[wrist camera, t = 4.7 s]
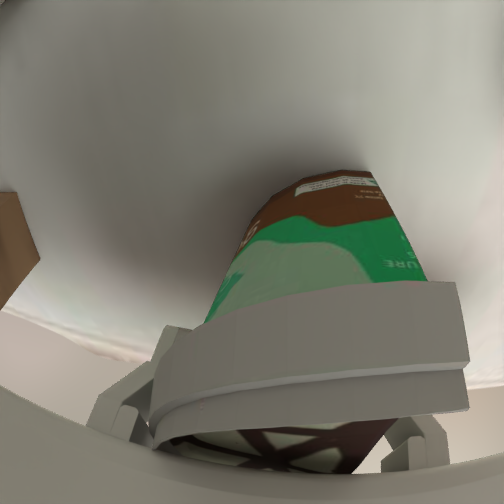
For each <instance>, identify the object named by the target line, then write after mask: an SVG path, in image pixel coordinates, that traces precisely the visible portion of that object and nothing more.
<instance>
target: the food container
mask: <svg viewBox="0 0 504 504" xmlns="http://www.w3.org/2000/svg"><path fill="white" fill-rule="evenodd" d="M469 362H470V357H469V350H468V344H467V337H466V332H465V326H464V321H463V315H462V310H461V306H460V301H459V296H458V292H457V288H456V283H455V282H431V281H427V279H426V276H425V274H424V272H423V270H422V268H421V266H420V263H419V261H418V259H417V257H416V255H415V253H414V251H413V249H412V247H411V245H410V243H409V241H408V239H407V237H406V235H405V233H404V231H403V229H402V227H401V225H400V223H399V222H398V220H397V218H396V216H395V214H394V212H393V210H392V209H391V207H390V205H389V203H388V201H387V200H386V198H385V196H384V194H383V193H382V191H381V189H380V187H379V186H378V184H377V182H376V181H375V179H374V177H373V176H372V174H371V172H362V171H347V170H340V171H335V172H330V173H326V174H321V175H316V176H311V177H307V178H303V179H301V180H300V181H298V182H296V183H294V184H293V185H291V186H289V187H287V188H285V189H284V190H282V191H280V192H278V193H277V194H275V195H273V196H272V197H271V198H270V199H269V201H268V202H267V203H266V204H265V205H264V206H263V207H262V209H261V210H260V211H259V212H258V213H257V214H256V216H255V217H254V218H253V219H252V221H251V223H250V225H249V227H248V229H247V231H246V233H245V236H244V238H243V240H242V242H241V244H240V246H239V248H238V250H237V253H236V255H235V257H234V259H233V261H232V263H231V265H230V268H229V270H228V272H227V274H226V276H225V278H224V281H223V283H222V285H221V287H220V289H219V291H218V293H217V296H216V298H215V300H214V302H213V304H212V307H211V309H210V311H209V313H208V315H207V317H206V320H205V322H204V324H202V325H200V326H198V327H197V328H195V329H194V330H192V331H191V332H189V333H188V334H186V335H185V336H183V337H182V338H180V339H179V340H177V341H176V342H175V343H174V344H173V345H172V346H171V347H170V348H169V349H168V350H167V352H166V353H165V354H164V355H163V356H162V357H161V359H160V361H159V364H158V366H157V369H156V371H155V374H154V381H153V388H152V396H151V404H150V412H149V421H148V422H149V432H150V434H151V436H152V438H153V440H154V441H153V446H152V450H156V449H157V450H160V451H164V452H168V453H172V454H176V455H180V456H184V457H189V458H193V459H198V460H203V461H208V462H213V463H219V464H225V465H231V466H237V467H244V468H252V469H260V470H269V471H280V472H292V473H310V474H352V472H353V471H354V470H355V469H356V468H357V467H358V466H359V465H360V464H361V463H362V461H363V460H364V459H365V457H366V456H367V455H368V454H369V452H370V451H371V450H372V448H373V447H374V446H375V445H376V443H377V442H378V441H379V440H380V438H381V437H382V436H383V435H384V434H385V432H386V431H387V430H388V429H389V428H390V427H391V426H392V425H393V424H394V423H395V422H396V421H397V420H398V419H399V418H400V417H409V416H417V415H432V414H443V413H453V412H462V411H467V410H468V409H469V408H470V407H469V401H468V395H467V389H466V384H465V378H464V373H463V368H464V367H466V366H467V364H468V363H469Z"/></svg>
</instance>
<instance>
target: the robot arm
mask: <svg viewBox="0 0 504 504" xmlns="http://www.w3.org/2000/svg"><path fill="white" fill-rule="evenodd" d="M191 331H192V330H191V329H185V328H181V327H175V326H169V325H167V326H166V327H165V328H164V330H163V332H162V334H161V337H160V339H159V342H158V344H157V347H156V349H155V351H154V354H153V356H152V359H151V361H150V362H149V361H146V362H145V363H143V364H142V365H140V366H139V367H138V368H136V369H135V370H134V371H132V372H131V373H129V374H128V375H127V376H125V377H124V378H122V379H121V380H120V381H118V382H117V383H115V384H114V385H112V386H111V387H110V388H108V389H107V390H105V391H104V392H103V393H101V394H100V395H99V396H98V398H97V400H96V403H95V405H94V408H93V410H92V412H91V414H90V417H89V419H88V422H87V424H86V426H84V425H82V424H79V423H77V422H74V421H72V420H70V419H67V418H65V417H63V416H61V415H58V414H56V413H53V412H52V411H49V410H47V409H45V408H43V407H41V406H39V405H37V404H35V403H33V402H31V401H29V400H27V399H25V398H23V397H21V396H19V395H18V394H16V393H14V392H12V391H10V390H8V389H7V388H5V387H3V386H1V385H0V504H504V452H503V453H499V454H496V455H491V456H488V457H484V458H479V459H475V460H470V461H466V462H461V463H456V464H450V459H449V450H448V441H447V435H446V432H445V430H444V429H443V428H442V427H441V425H440V424H439V423H438V422H437V420H436V419H435V418H434V417H433V416H432V415H417V416H409V417H400V418H399V419H398V420H397V421H396V422H395V423H394V424H393V425H392V426H391V427H390V428H389V429H388V430H387V431H386V432H385V434H384V436H385V438H386V439H387V441H388V442H389V444H390V445H391V447H392V449H393V451H392V452H391V453H390V454H389V455H387V456H386V457H385V458H384V459H383V460H382V461H381V473H368V474H310V473H292V472H280V471H269V470H260V469H252V468H244V467H237V466H231V465H225V464H219V463H213V462H208V461H203V460H198V459H193V458H189V457H184V456H180V455H176V454H172V453H168V452H164V451H160V450H157V449H156V450H152V445H153V441H154V440H153V438H152V436H151V434H150V432H149V427H148V425H147V424H146V422H148V421H149V412H150V404H151V396H152V388H153V381H154V374H155V371H156V369H157V366H158V364H159V361H160V359H161V357H162V356H163V355H164V354H165V353H166V352H167V350H168V349H169V348H170V347H171V346H172V345H173V344H174V343H175V342H176V341H177V340H179V339H180V338H182V337H183V336H185V335H186V334H188V333H189V332H191Z"/></svg>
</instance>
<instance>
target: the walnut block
mask: <svg viewBox="0 0 504 504" xmlns="http://www.w3.org/2000/svg"><path fill="white" fill-rule="evenodd" d="M39 260H40V257H39V254H38V252H37V249H36V247H35V244H34V242H33V239H32V236H31V234H30V231H29V228H28V225H27V223H26V220H25V217H24V214H23V211H22V208H21V205H20V202H19V199H18V195H17V192H0V310H1V309H2V308H3V306H4V305H5V304H6V302H7V301H8V300H9V298H10V297H11V296H12V294H13V293H14V292H15V290H16V289H17V288H18V286H19V285H20V284H21V283H22V281H23V280H24V279H25V277H26V276H27V275H28V274H29V272H30V271H31V270H32V269H33V268H34V266H35V265H36V264H37V263H38V262H39Z"/></svg>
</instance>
